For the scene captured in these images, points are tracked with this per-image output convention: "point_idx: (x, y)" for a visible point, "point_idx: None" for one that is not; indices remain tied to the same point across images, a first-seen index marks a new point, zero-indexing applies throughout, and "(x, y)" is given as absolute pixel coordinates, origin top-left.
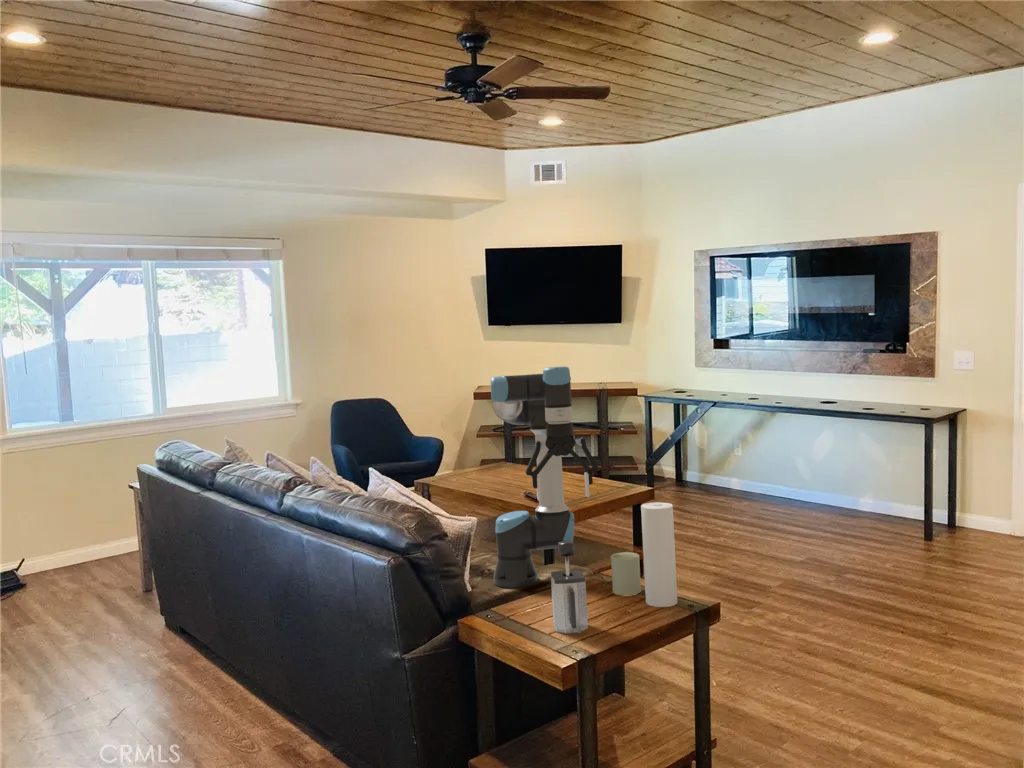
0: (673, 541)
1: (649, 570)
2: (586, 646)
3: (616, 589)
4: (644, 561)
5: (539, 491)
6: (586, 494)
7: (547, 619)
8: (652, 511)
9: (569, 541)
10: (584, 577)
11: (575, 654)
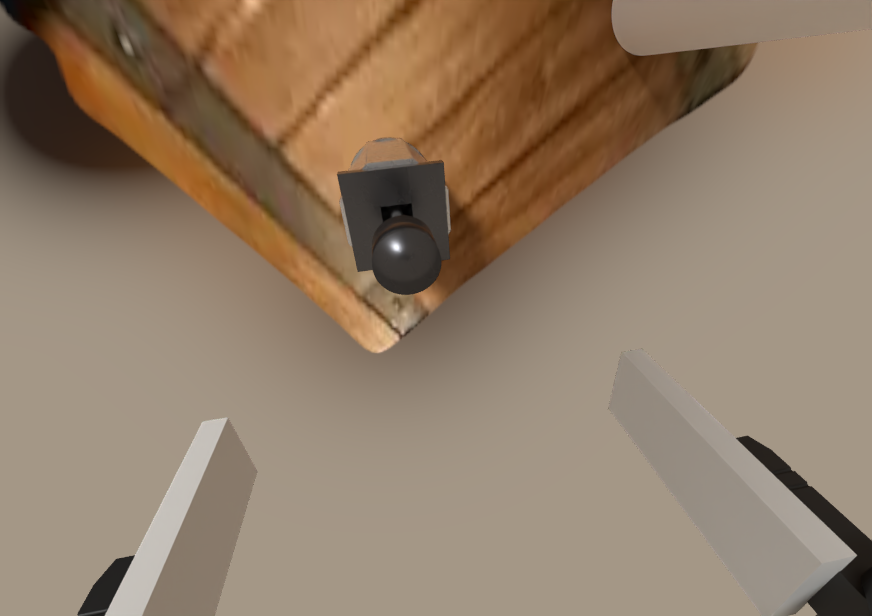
0: None
1: (687, 21)
2: None
3: None
4: None
5: (223, 551)
6: (621, 408)
7: (326, 110)
8: None
9: (423, 245)
10: (448, 253)
11: (398, 315)
